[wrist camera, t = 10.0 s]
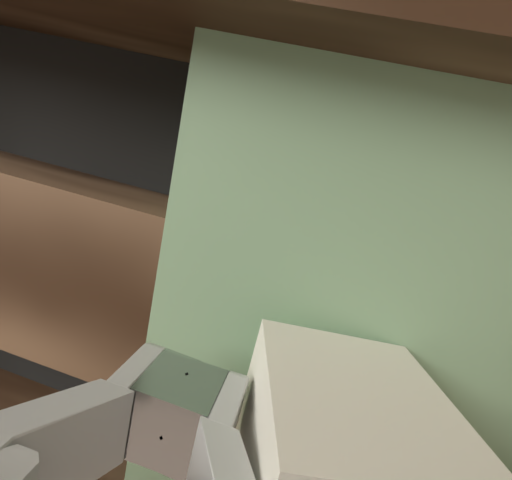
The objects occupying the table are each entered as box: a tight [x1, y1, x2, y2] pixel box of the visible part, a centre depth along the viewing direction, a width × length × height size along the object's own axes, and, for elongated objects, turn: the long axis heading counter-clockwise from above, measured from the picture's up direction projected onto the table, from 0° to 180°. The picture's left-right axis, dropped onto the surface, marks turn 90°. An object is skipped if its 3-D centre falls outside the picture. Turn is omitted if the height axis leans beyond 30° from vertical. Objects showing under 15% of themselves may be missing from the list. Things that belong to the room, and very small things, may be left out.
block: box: [236, 319, 512, 480], centre depth 7 cm, size 4×4×4 cm
